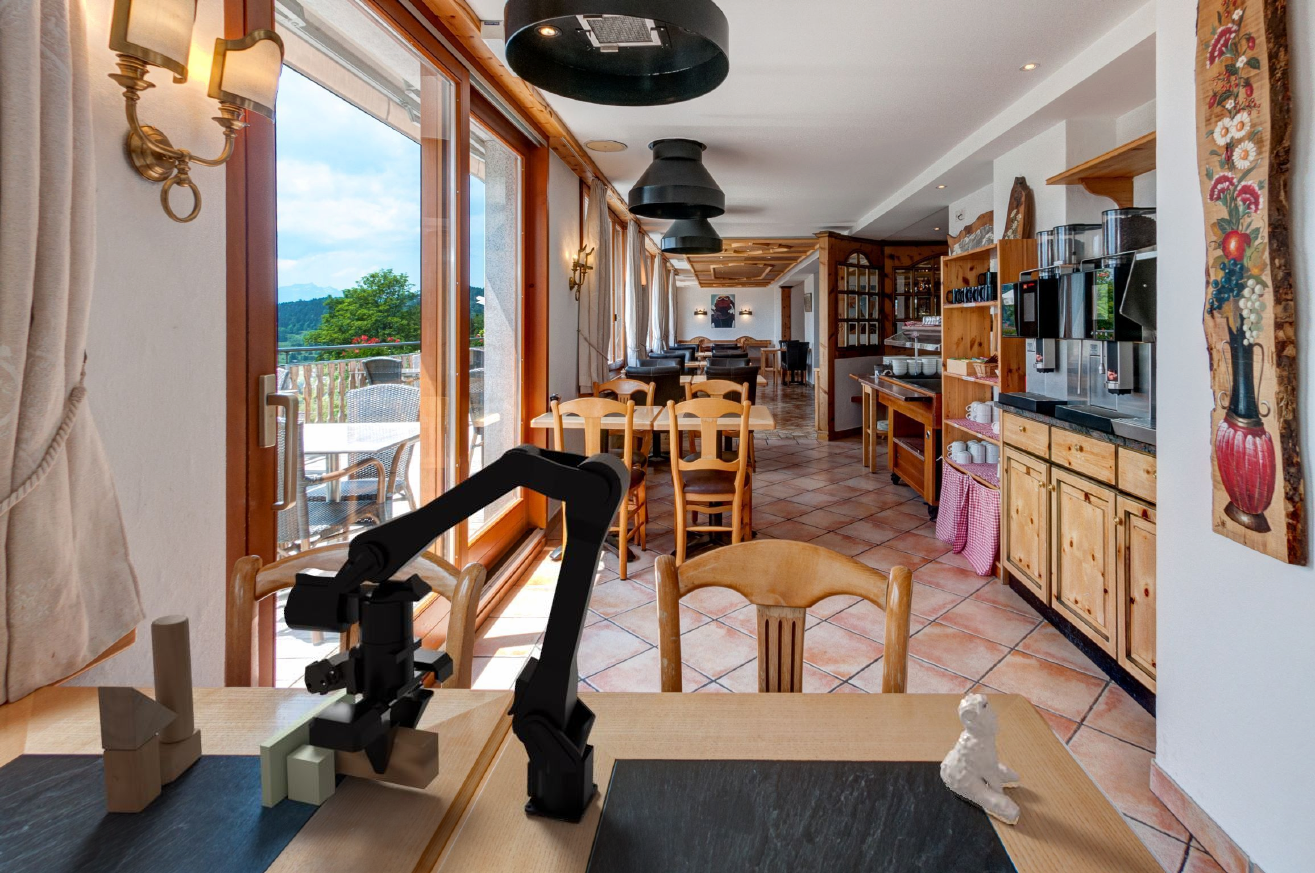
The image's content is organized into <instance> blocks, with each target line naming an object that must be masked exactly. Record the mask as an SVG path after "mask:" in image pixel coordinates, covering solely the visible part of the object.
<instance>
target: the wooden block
mask: <svg viewBox="0 0 1315 873" xmlns="http://www.w3.org/2000/svg"><path fill="white" fill-rule="evenodd" d="M150 632H151V650H152V651H151V652H152V666H153V667H152V668H153V684H154V697H155V698H154V699H153V698H152V697H149V696H148V695H147V694H145V693H143V692H141V691H140V690H138V689H137V688H135V687H133V686H119V685H118V686H113V685H112V686H111V685H109V686H107V685H99V686H97V694H98V696H97V697H98V712H99V725H100V739H101V749H102V750H103V752H102V755H103V757H102V758H103V767H104V768H103V769H104V771H103V772H104V782H105V798H106V811H107V812H108V813H128V814H129V813H131V814H132V813H135V814H137V813H141V812H142V811H144V809H145V808H147V807H148V806H149V805H150V804H151V803H152V802H154V800H155V799H157V798H158V797H159V796H160V795H161V793H162V786H165V785H168V784H170V783H172V782H174V781H175V780H176V779H177V778H178V777H180V776H181V775H182V774H183V773H184V772H185V771H186V770H188V768H190V767H191V766H192V765H193V764H194V763H195V762H196V761H197V760H198V759H199V758H200V757H201V756H202V754H203V750H202V749H203V748H202V733H201V732H202V730H201V729H200V728H195V713H194V712H195V711H194V710H195V709H194V695H193V677H192V657H191V637H190V619H189V617H188V616H187V615H184V614H169V615H165V616H161V617H158V618H156V619H155V620H152V623H151V625H150Z"/></svg>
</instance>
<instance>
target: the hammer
mask: <svg viewBox="0 0 1315 873" xmlns="http://www.w3.org/2000/svg"><path fill="white" fill-rule="evenodd" d="M335 703H337V702H333V703H331V704H330V705H328V706H327V707H325V708H324V709H322V710H321V711H320V712H318V713H317V714H315V715H314V716H313V719H314V718H315V717H317V716H318V715H319V714H321V713H322V712H324V711H325V710H327V709H328V708H329V707H331V706H332V705H334V704H335ZM439 742H440V741H439V732H434V731H427V730H424V729H417V728H416V729H412V728H406V727H401V726H399V727H398V731H397V734H396V738H395V741H394V745H393V749H392V753H391V756H390V760H389V763H388V766H387V769H386V772H385V773H384V774H383V775H381V774H376V773H375V772H374V770H373V768H372V765H371V763H370V761H369V759H368V757H367V755H366V752H365V750H364V749H363V750H362V751H359V752H355V753H350V752H345V751H339V750H334V749H330V750H334V770H335V775H337V774H343V775H347V776H353V777H358V778H363V779H367V780H368V779H369V780H373V781H378V782H384V783H389V784H392V785H393V784H395V785H399V786H403V787H407V788H409V787H410V788H413V789H420V790H423V791H424V790H425V789H427V787H428V786H429V785H430V784H431V783H432V782H433V781H434V780H435V779H436V778H437V777H438V776H439V774H440V765H439V764H440V761H439V760H440V759H439V755H440V754H439V753H440V752H439V749H440V748H439ZM315 747H318V746H315ZM320 748H324V747H320ZM325 749H329V748H325Z"/></svg>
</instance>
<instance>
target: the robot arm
mask: <svg viewBox="0 0 1315 873" xmlns="http://www.w3.org/2000/svg"><path fill="white" fill-rule="evenodd" d="M631 479H632V478H631V473H630V470H629V468H628V466H627V465H626V463H625V462H624V461H623V460H622V459H621V458H620V457H618V455H615V454H612V453H609V452H607V453H606V452H601V453H600V452H599V453H596V454H595V453H594V454H593V455H591V456H589V455H584V454H580V453H576V452H571V451H570V452H569V451H562V450H556V449H548V448H545V447H540V446H536V445H534V444H532V443H522V444H519V445H517V446H515V447H512V448H511V449H507V450H506V451H505V452H504V453H503V454H502V455H501V456H500V457H499V458H498V459H496V460H495V461H493V462H491V463H490V464H488V465H487V466H485V467H484V468H482V469H480V470H479V471H477V472H476V473H474V474H473V475H471V476H469V477H468V478H466V479H465V480H463V481H461V482H459V483H458V484H457V485H455V486H453V487H452V488H450V489H448V490H447V491H445V492H444V493H442V494H441V495H439V496H437V497H436V498H435V499H432V500H431V501H430V502H428V503H426V504H424V505H422V506H420V507H418V508H415V509H413V510H409V511H407V512H405V513H402V514H399V515H396V516H394V517H392V518H389V519H387V520H385V521H382V522H380V523H379V524H377V525H375V526H373V527H370V528H368V529H367V530H364V531H363V532H360V533H358V534H356V535H355V536H354V537H353V538H352V539H351V540H350V542H348V543H349V544H348V552H347V560H345V562H344V563H343V565H341V567H340V568H339V571H336V570H335V571H332V570H321V569H319V568H313V567H306V568H304V569H302V570H300V571H298V572H297V573H295V575H294V578H295V580H294V581H295V582H294V584H293V586H292V587H291V589H290V591H289V594H288V596H287V599H286V604H285V605H284V607H283V617H284V618H283V619H284V621H285V624H286V626H287V627H288V628H289V629H290V630H294V631H307V632H321V633H334V634H335V633H336V634H344V633H346V632H348V631H349V630H350V629H351V628H352V626H353V625H355V624H357V623H358V643H357V644H355V645H354V646H352V647H350V649H349V650H348V649H347V650H345V651H341V652H338V653H336V654H333V655H331V656H330V657H328V658H323V659H321V660H315V661H313V662H311V663H309V664H307V665H306V666H305V667H304V678H303V679H304V680H303V681H304V684H305V688H306V689H307V692H308V693H310V694H311V695H315V694H318V693H319V695H320V696H325V695H328V693H331V692H334V691H340V690H342V689H344V688H346V694H349V695H355V696H357V695H359V694H361V695H362V696H361V697H362V698H361V699H360V700H358V701H357V702H356V704H349V703H344V702H337V703H335V704H334V705H332V706H331V707H329V708H328V709H327V710H325V711H324V712H322V713H321V714H319V715H318V716H317V717H315V718H314V719H313V720H312V721H311V722H310V723H309V724H308V731H309V745H313V746H318V747H324V748H329V749H334V750H339V751H345V752H350V753H355V752H359V751H362V750H363V749H364V750H365V752H366V755H367V757H368V759H369V761H370V763H371V765H372V768H373V770H374V772H375V773H376V774H381V775H383V774H384V773H385V772H386V769H387V766H388V763H389V760H390V756H391V753H392V749H393V745H394V741H395V738H396V734H397V731H398V727H399V726H401V727H406V728H412V729H417V727H418V724H419V723H420V721H421V718H422V717H423V715H424V713H425V711H426V709H427V707H428V705H429V703H430V701H431V699H432V698H433V697H434V695H435V691H434V690H433V689H429V688H425V685H424V684H425V683H423V682H422V681H423V677H424V676H425V675H427V674H428V673H429V672H431V673H433V680H434V681H435V682H437V683H438V684H443V683H444V682H445V681H447V680H448V678H449V679H450V678H451V676H453V675H454V659H453V658H452V657H451V655H449V653H448V652H447V651H441V650H436V649H435V650H434V649H429V648H421V647H422V646H423V645H422V644H423V643H422V642H423V641H422V640H423V639H422V638H423V637H419V636H414V635H415V634H414V632H415V630H414V629H415V628H414V627H415V626H414V624H415V623H414V622H415V621H414V620H415V619H414V603H418V602H421V601H422V600H423V599H424V598H425V597H426V596H428V595H430V593H431V592H432V591H433V586H432V585H431V584H429V583H428V582H427V581H425V580H423V579H422V578H421V577H420V576H419V574H418V573H415V572H414V573H413V574H412V575H411V576H409V577H408V578H406V579H393V578H392V577H394V576H396V575H397V574H398V573H400V572H401V571H403V570H404V569H406V568H407V567H409V566H410V565H412V564H413V563H414V562H415V561H416V560H417V559H418V558H420V557H422V555H423V554H425V552H427V550H429V549H430V548H431V546H433V545H434V544H435V543H436V542H437V540H438V539H439V538H441V537H442V536H443V535H444V534H445V533H446V532H447V531H449V530H450V529H452V528H453V527H455V526H457V525H458V524H460V523H462V522H463V521H465V520H467V519H468V518H470V517H471V516H473V515H475V514H476V513H478V512H479V511H481V510H483V509H485V508H486V507H488V506H489V505H491V504H493V503H494V502H496V501H497V500H498V499H501V498H502V497H504V496H505V495H507V494H508V493H510V492H512V491H513V490H515V489H517V488H518V487H522V488H526V489H529V490H531V491H534V492H536V493H537V494H540V495H543V496H544V497H547V498H549V499H552V500H555V501H560V502H563V503H565V504H564V519H565V520H564V521H565V530H566V532H565V533H566V543H565V546H564V551H563V555H562V560H561V564H560V568H559V572H558V575H557V576H558V577H557V580H556V584H555V585H556V586H555V590H554V594H553V599H552V602H551V607H550V611H549V614H548V615H549V616H548V620H547V624H546V628H545V631H544V636H543V641H542V645H541V648H540V654H539V657H538V658H539V659H538V658H536V657H534V656H530V657H529V658H528V660H527V662H526V663H525V665H524V667H523V668H522V670H521V671H520V673H519V674H518V676H517V678H515V684H514V689H513V690H514V694H513V695H514V696H513V703H512V705H511V706H510V707H509V710H508V711H507V713H506V714H507V716H509V717H510V716H512V719H511V730H512V733H513V734H514V735H515V736H516V737H517V739H518V740H519V741H520V742H521V744H523V746H524V749H525V752H526V754H527V757H528V761H527V763H526V795H527V797H528V798H529V800H528V801H527V802H526V804H525V805H524V813H527V814H529V815H535V816H540V817H545V818H550V819H555V820H559V821H565V822H570V823H575V824H577V823H581V821H582V819H583V818H584V816H585V814H586V812H587V811H588V809H589V807H590V805H591V803H592V801H593V799H594V797H595V796H596V794H597V792H598V789H599V785H598V784H597V783H595V782H594V762H595V761H594V760H595V759H594V754H595V752H594V751H595V745H594V744H589V743H588V740H589V737H590V736H591V735H590V734H591V733H592V729H593V726H594V723H595V720H596V717H597V716H596V713H595V712H594V711H593V710H591V709H590V708H589V706H588V705H587V704H586V703H585V702H584V701H583V700H582V699H581V698H580V697H579V696H578V693H579V692H578V691H579V669H578V668H579V667H578V653H579V649H580V643H581V639H582V636H583V632H584V628H585V624H586V620H587V616H588V611H589V606H590V603H591V599H592V595H593V590H594V587H595V582H596V578H597V574H598V569H599V564H600V561H601V559H602V558H601V557H602V553H603V549H604V545H605V540H606V539H607V537H608V534H609V533H610V530H611V528H612V526H613V524H614V522H615V520H616V517H617V515H618V513H619V511H620V509H621V507H622V504H623V503H624V500H625V499H626V495H627V493H628V491H629V488H630V486H631ZM365 582H369V583H371V584H367V583H365Z"/></svg>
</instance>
